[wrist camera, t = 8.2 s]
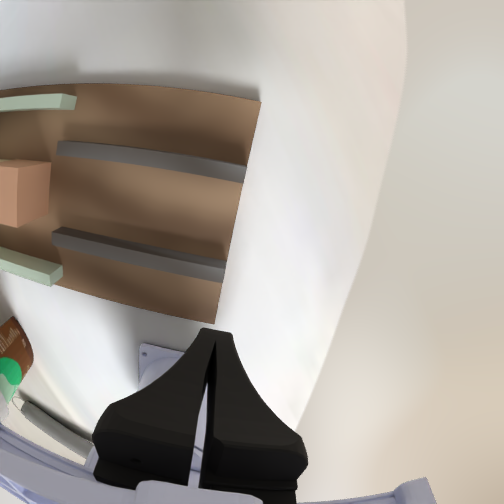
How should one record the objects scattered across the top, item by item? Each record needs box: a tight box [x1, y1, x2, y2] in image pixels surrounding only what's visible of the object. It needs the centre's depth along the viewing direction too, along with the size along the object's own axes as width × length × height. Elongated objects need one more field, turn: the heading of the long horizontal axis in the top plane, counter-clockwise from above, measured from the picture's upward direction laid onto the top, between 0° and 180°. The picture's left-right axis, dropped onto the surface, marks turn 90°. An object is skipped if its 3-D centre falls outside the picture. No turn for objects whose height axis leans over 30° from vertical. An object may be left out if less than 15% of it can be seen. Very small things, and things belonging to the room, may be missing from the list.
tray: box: [0, 93, 77, 287], centre depth 17 cm, size 14×11×2 cm
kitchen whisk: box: [12, 397, 94, 459], centre depth 28 cm, size 6×34×6 cm, turn 59°
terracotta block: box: [0, 159, 51, 228], centre depth 16 cm, size 4×4×4 cm
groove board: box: [0, 83, 261, 324], centre depth 18 cm, size 16×24×2 cm, turn 78°
